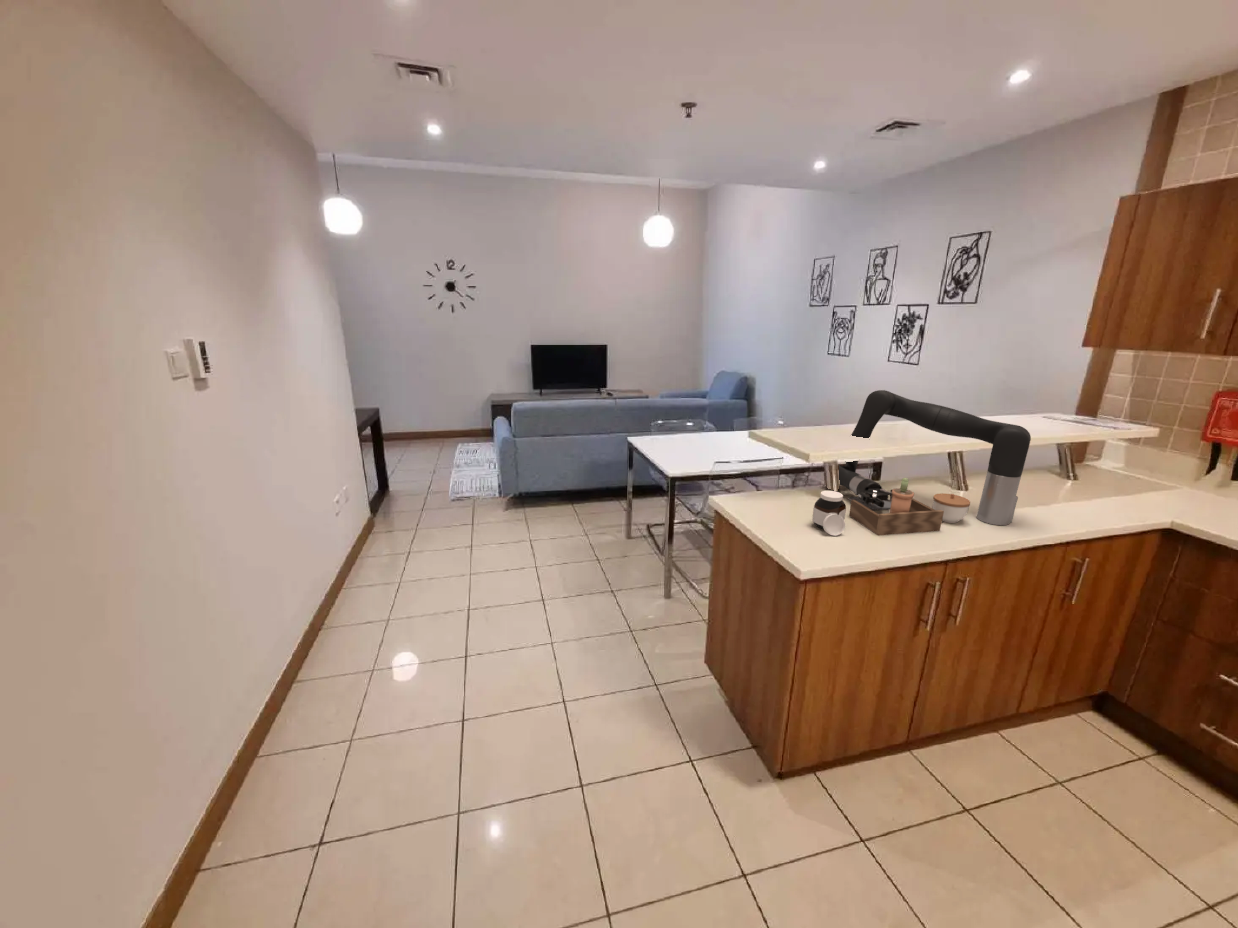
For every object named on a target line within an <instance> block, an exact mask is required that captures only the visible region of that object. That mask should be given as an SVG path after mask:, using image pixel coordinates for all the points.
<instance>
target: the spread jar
mask: <svg viewBox="0 0 1238 928" xmlns="http://www.w3.org/2000/svg"><path fill="white" fill-rule="evenodd" d="M843 497H844V494H842V493H841V492H839V491H835V490H821V492H820V496H819V498H818V499H817V500H816V501H815V503H814V505H813V508H812V509H813V511H812V516H811V517H812V519H811V520H812V522H813V523H814V525H815V526H816V527H817V528H819V529H822V530H824V532H825V533H826V534H828V535H831V536H833V537H835V536H836V537H837V536H840V535H841V534H842V533H843V532H844V531H845V529H846V521H845V519H846V513H847V506H846V503H845V502H844V501H843Z"/></svg>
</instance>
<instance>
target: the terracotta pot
mask: <svg viewBox="0 0 1238 928" xmlns="http://www.w3.org/2000/svg"><path fill="white" fill-rule="evenodd" d="M908 487H909V478H908V477H903V478H902V479H901V482H900V488H899V487H898V488H893V489H891V490H892V495H893V496H892V502H891V507H890V510H889V513H901V512H909V510H910V505H911V500H912V498H913V499H914V497H915V496H914V495H915V492H914V491H912V490H909V489H908Z"/></svg>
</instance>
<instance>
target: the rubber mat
mask: <svg viewBox="0 0 1238 928" xmlns="http://www.w3.org/2000/svg"><path fill="white" fill-rule="evenodd" d="M847 499H848V500H849V501H851V500H856V501H857V502H859V503H861V504H862V505H864V506H866V507H867V508H869V509H871V510H872V511H874V512H875V511H887V510H889V511H890V507H891V502H887V501H884V507H883V508H881V507H879V506H877V505H876V504H871V503H869V504H866V503H865V502H863V501H862V500H860V499H859V498H858V496H851V497H850V496H849V497H847Z"/></svg>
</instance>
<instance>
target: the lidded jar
mask: <svg viewBox="0 0 1238 928" xmlns="http://www.w3.org/2000/svg"><path fill="white" fill-rule="evenodd" d="M970 506H971V501H970V500H969V499H968V498H966V497H964V496H960V495H957V494H954V493H943V492H941V493H935V494H934V495H933V498H932V507H931V508H932V509H934V510H942V511H944V514H943V518H942V522H943V523H944V522H945V523H949V524H956V523H958V522H959V521H961V520H963V519H964V518H965V517H966V516H967V514H968V512H969V509H970Z"/></svg>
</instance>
